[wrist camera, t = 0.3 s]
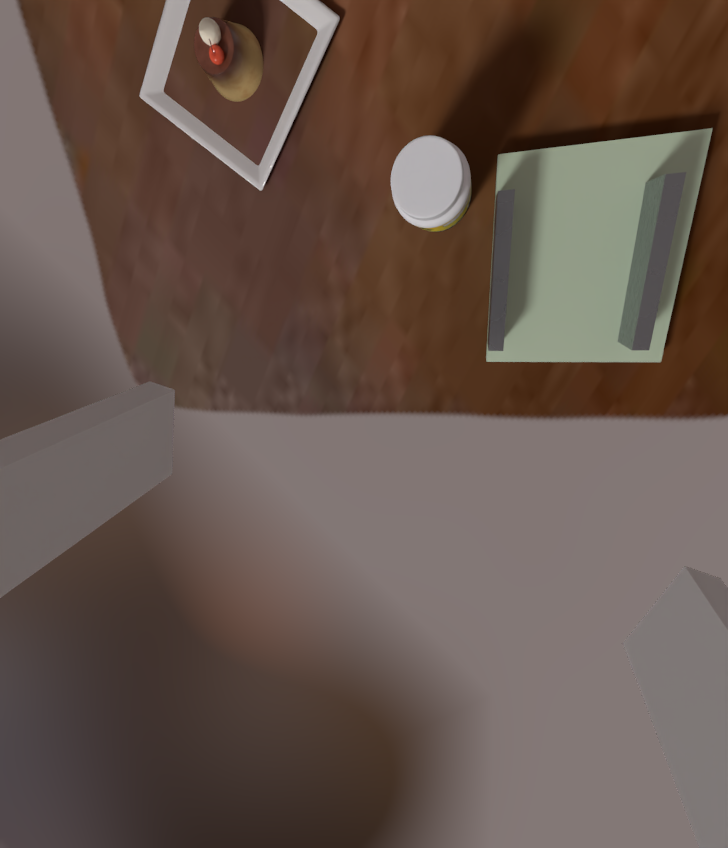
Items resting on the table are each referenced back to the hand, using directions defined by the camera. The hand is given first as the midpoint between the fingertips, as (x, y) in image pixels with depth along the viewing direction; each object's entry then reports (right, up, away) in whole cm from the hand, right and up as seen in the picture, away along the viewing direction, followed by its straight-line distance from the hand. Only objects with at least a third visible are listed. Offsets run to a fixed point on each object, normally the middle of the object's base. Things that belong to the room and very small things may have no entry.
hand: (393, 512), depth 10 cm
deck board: (+15, +14, +18) cm, 27 cm away
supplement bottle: (+5, +19, +19) cm, 28 cm away
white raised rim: (-10, +29, +20) cm, 37 cm away
